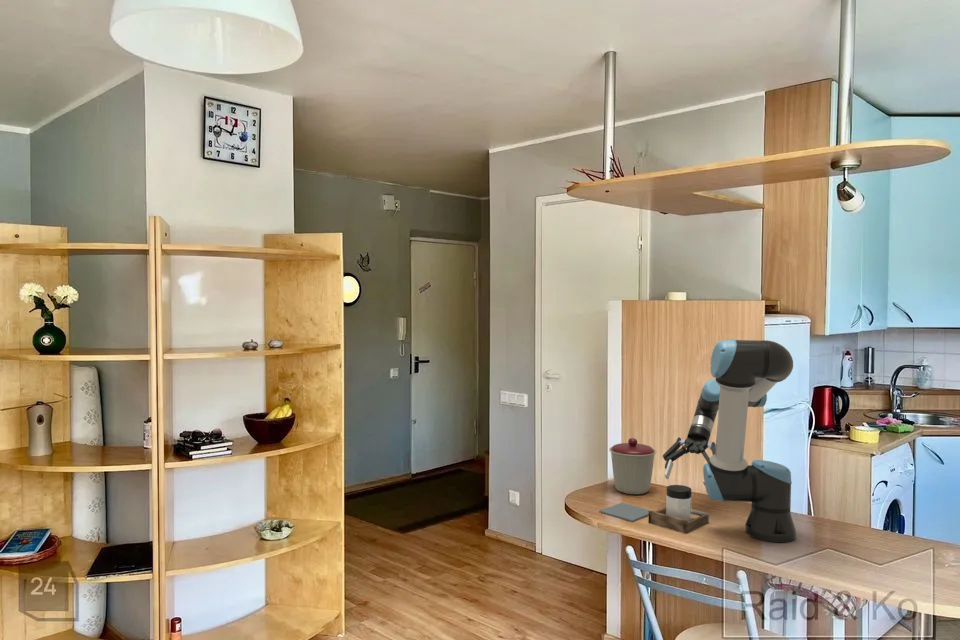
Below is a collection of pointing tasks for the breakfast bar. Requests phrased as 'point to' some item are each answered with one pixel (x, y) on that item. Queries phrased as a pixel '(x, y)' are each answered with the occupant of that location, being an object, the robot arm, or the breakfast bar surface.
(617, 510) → the mat
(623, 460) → the canister
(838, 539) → the breakfast bar surface
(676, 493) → the jar
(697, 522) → the jar holder
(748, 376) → the robot arm
